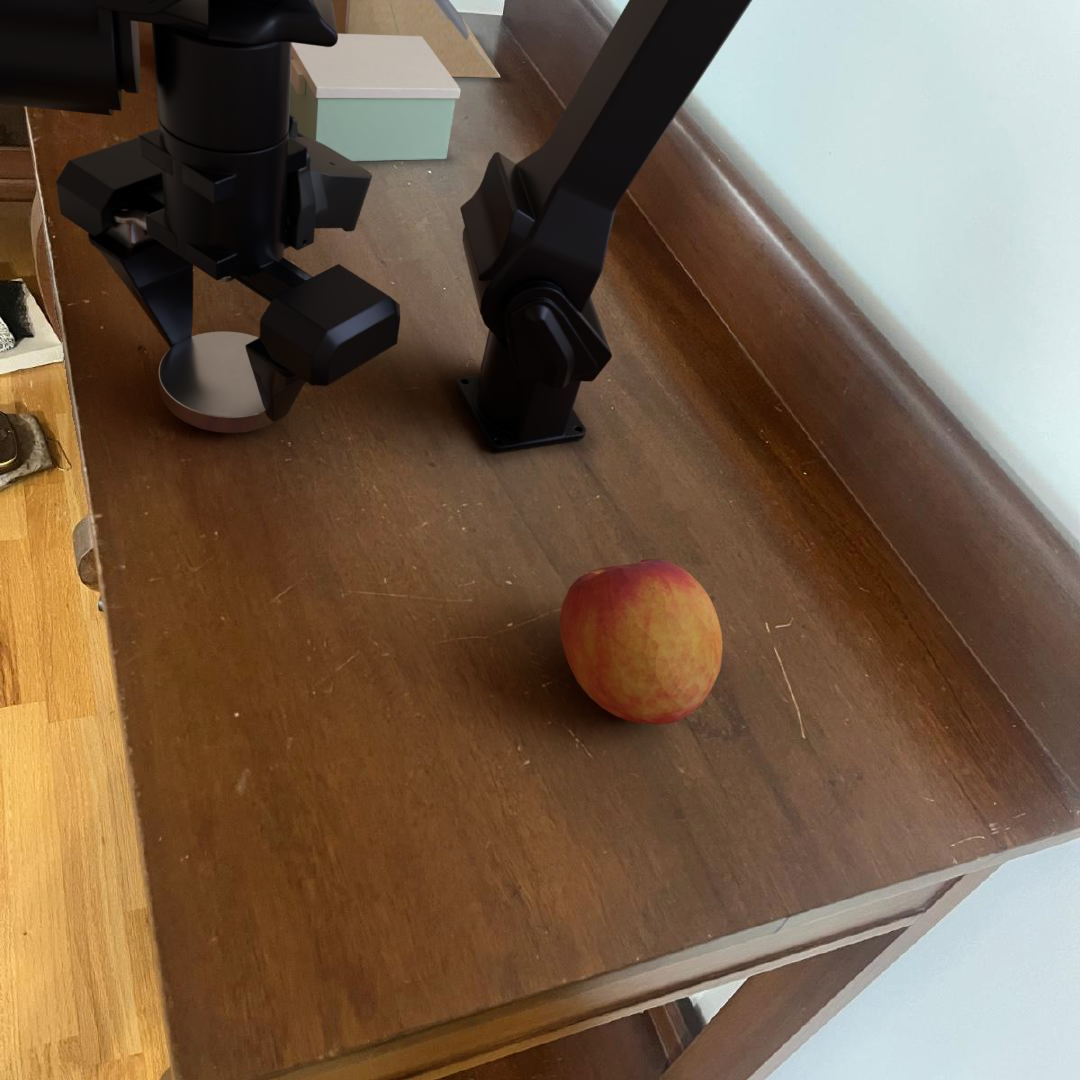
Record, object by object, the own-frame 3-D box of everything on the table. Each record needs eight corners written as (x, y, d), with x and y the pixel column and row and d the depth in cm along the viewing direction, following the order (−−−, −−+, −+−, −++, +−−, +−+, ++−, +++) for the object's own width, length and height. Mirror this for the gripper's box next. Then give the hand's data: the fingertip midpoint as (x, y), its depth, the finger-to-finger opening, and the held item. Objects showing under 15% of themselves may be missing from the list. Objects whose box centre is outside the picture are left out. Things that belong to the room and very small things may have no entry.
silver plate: (310, 431, 57) (311, 407, 56) (175, 449, 54) (174, 425, 53) (275, 349, 61) (276, 325, 60) (148, 362, 58) (146, 337, 57)
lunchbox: (417, 106, 87) (426, 36, 83) (454, 160, 82) (465, 88, 78) (277, 106, 82) (278, 31, 78) (307, 163, 77) (311, 87, 73)
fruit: (674, 617, 55) (725, 520, 49) (713, 749, 50) (775, 657, 44) (535, 617, 53) (571, 515, 47) (561, 754, 48) (604, 659, 42)
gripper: (490, 161, 49) (444, 404, 60) (214, 3, 53) (220, 255, 65) (329, 239, 41) (311, 497, 53) (28, 49, 46) (71, 323, 58)
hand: (229, 382), depth 57 cm, fingers closed on silver plate, 7 cm apart
